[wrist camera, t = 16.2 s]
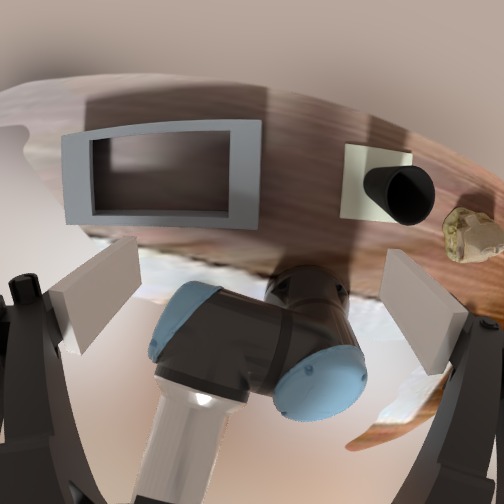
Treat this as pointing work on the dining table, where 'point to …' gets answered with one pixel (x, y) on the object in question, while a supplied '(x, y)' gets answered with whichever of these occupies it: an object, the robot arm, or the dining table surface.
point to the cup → (401, 192)
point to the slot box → (238, 217)
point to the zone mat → (354, 172)
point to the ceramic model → (471, 236)
